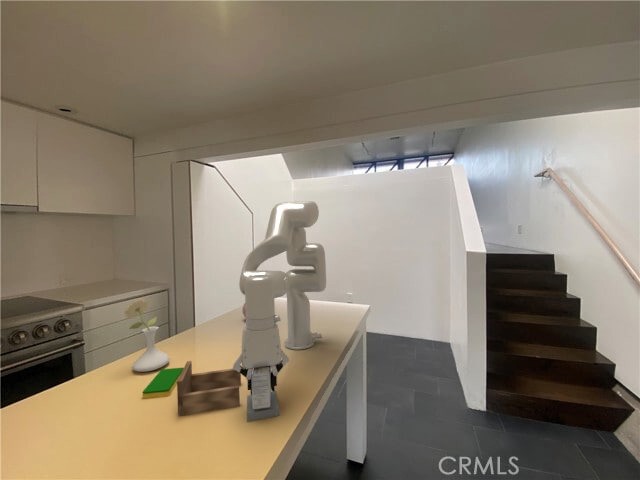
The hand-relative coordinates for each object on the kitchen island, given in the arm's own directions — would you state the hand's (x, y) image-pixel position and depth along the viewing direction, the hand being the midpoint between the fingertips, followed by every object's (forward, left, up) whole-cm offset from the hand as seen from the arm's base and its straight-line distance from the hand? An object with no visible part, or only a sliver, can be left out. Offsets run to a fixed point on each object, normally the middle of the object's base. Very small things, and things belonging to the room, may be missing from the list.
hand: (262, 389), depth 73 cm
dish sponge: (+29, -21, -6) cm, 36 cm away
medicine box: (0, +1, -2) cm, 3 cm away
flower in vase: (+38, -35, -5) cm, 52 cm away
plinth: (0, 0, -5) cm, 5 cm away
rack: (+14, -9, -5) cm, 17 cm away
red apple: (+1, -80, -5) cm, 80 cm away
